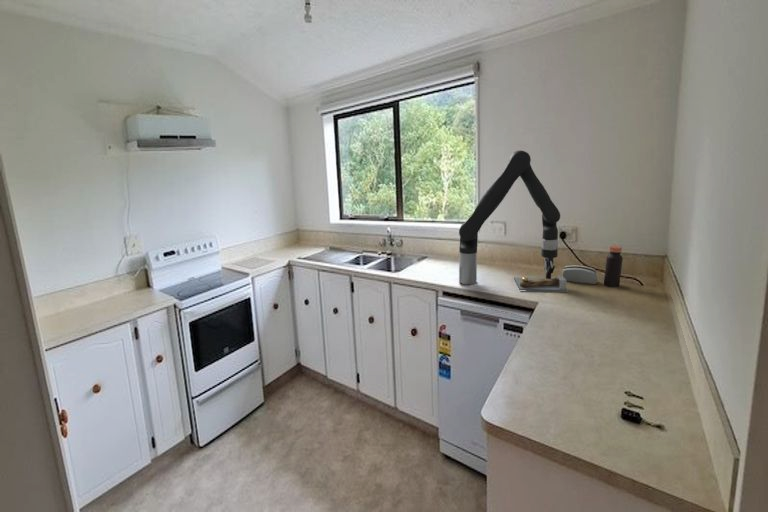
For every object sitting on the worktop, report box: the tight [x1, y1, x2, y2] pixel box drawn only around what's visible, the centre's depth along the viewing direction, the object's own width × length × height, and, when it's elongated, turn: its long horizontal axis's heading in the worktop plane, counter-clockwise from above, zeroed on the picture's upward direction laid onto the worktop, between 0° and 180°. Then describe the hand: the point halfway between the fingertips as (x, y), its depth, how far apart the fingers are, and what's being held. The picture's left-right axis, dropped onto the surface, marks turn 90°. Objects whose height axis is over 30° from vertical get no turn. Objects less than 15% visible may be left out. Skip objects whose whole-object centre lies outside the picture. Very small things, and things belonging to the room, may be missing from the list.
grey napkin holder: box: [561, 264, 598, 285], centre depth 193 cm, size 17×5×10 cm, turn 59°
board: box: [513, 276, 568, 293], centre depth 190 cm, size 22×18×1 cm
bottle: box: [603, 245, 624, 288], centre depth 183 cm, size 7×7×20 cm
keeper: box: [555, 275, 567, 290], centre depth 183 cm, size 3×7×5 cm, turn 169°
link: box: [520, 277, 559, 287], centre depth 187 cm, size 21×4×2 cm, turn 93°
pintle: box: [521, 276, 529, 282], centre depth 186 cm, size 3×3×1 cm
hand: (548, 279), depth 190 cm, fingers closed
